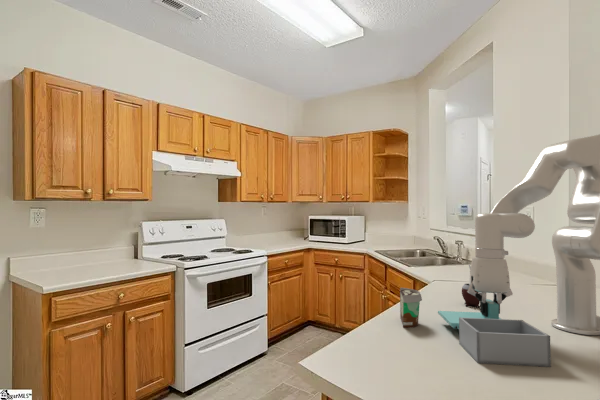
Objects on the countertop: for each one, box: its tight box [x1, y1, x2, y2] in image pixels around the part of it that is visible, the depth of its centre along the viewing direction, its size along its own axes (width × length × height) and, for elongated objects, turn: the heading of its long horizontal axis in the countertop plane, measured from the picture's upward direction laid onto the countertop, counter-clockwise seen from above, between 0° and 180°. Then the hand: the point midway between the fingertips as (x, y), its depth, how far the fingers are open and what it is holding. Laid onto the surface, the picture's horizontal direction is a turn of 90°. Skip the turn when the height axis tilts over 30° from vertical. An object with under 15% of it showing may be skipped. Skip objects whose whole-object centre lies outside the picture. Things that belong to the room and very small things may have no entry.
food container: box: [399, 287, 423, 329], centre depth 109 cm, size 12×6×10 cm, turn 168°
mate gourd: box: [461, 264, 480, 309], centre depth 132 cm, size 8×8×15 cm
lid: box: [437, 298, 502, 330], centre depth 104 cm, size 17×13×7 cm
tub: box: [458, 317, 552, 368], centre depth 86 cm, size 16×12×7 cm
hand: (490, 315), depth 103 cm, fingers closed on lid
